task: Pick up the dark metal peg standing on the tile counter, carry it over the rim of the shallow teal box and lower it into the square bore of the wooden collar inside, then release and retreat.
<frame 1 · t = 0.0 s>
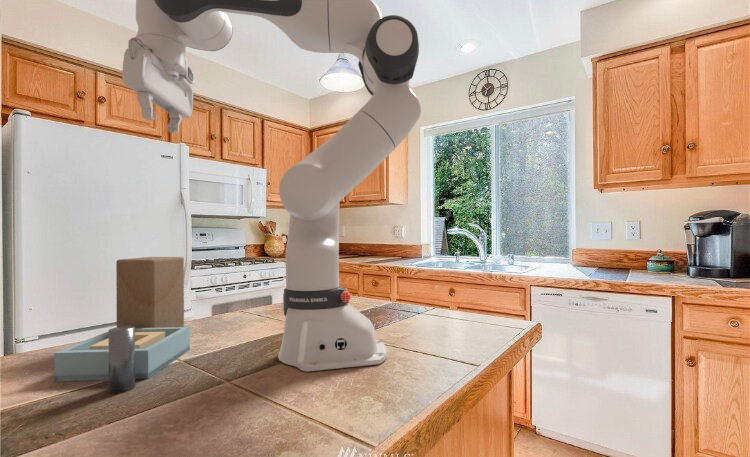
hand: (161, 126, 74), 48 cm above the counter, fingers open, 8 cm apart
peg: (122, 388, 60), on the counter
bin: (129, 363, 72), on the counter
wooden block: (151, 342, 86), on the counter
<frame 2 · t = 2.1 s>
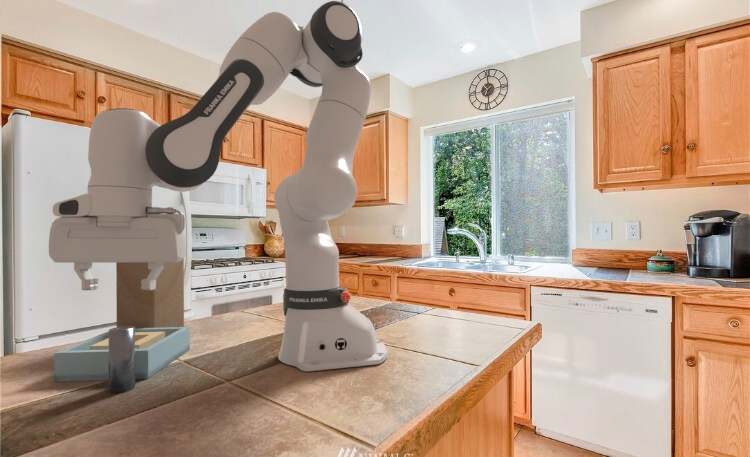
hand: (119, 289, 60), 16 cm above the counter, fingers open, 8 cm apart
nothing on the counter moved.
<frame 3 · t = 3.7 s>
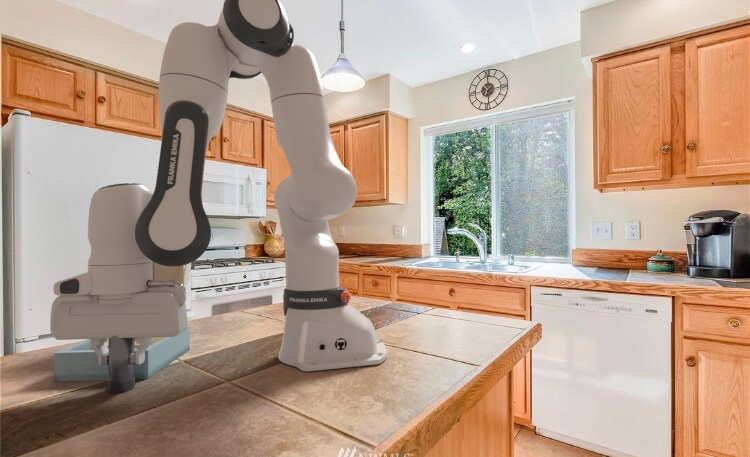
hand: (121, 363, 60), 4 cm above the counter, fingers closed on peg, 4 cm apart
peg: (122, 388, 60), on the counter, touching gripper
everything else where it was.
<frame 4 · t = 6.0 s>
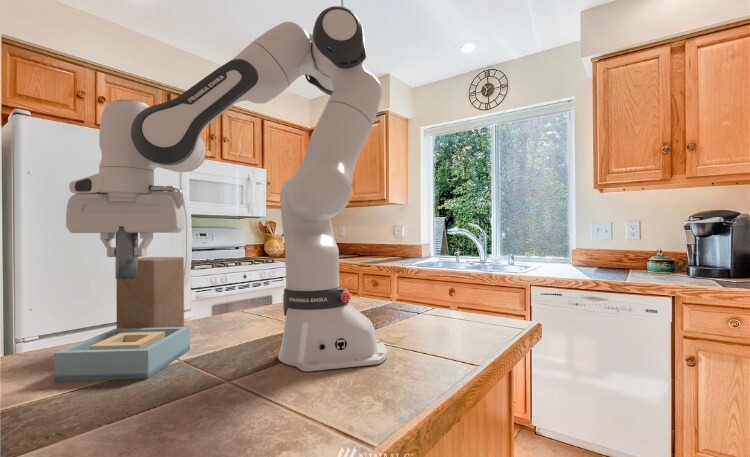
hand: (127, 256, 70), 21 cm above the counter, fingers closed on peg, 4 cm apart
peg: (126, 278, 70), point 17 cm above the counter, touching gripper
everything else where it was.
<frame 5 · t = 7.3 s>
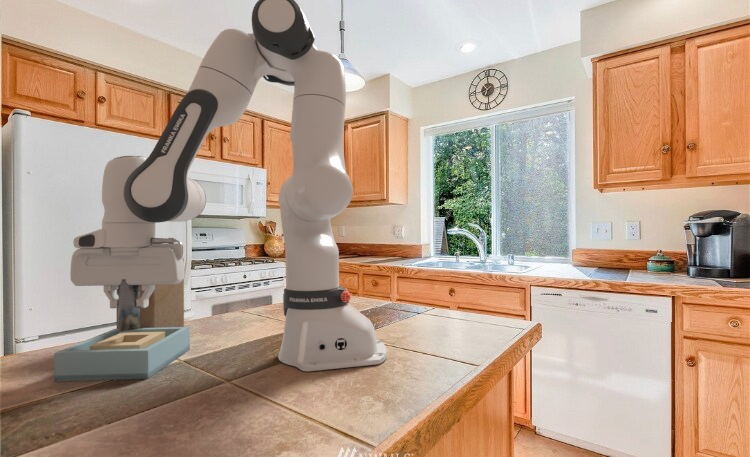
hand: (129, 307, 72), 11 cm above the counter, fingers closed on peg, 4 cm apart
peg: (129, 328, 72), point 7 cm above the counter, touching gripper
everything else where it was.
when the fingers open (7 cm above the counter, at t = 8.4 s): peg drops 2 cm, resting on bin.
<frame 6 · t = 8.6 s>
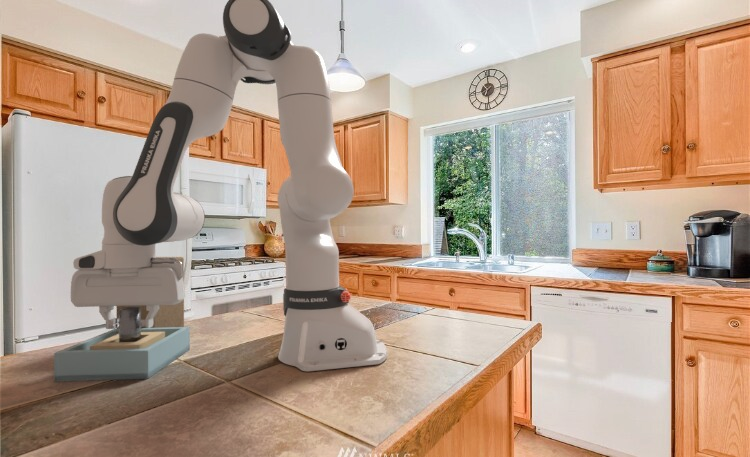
hand: (129, 327, 72), 7 cm above the counter, fingers open, 5 cm apart
peg: (129, 358, 72), point 1 cm above the counter, touching bin
everything else where it was.
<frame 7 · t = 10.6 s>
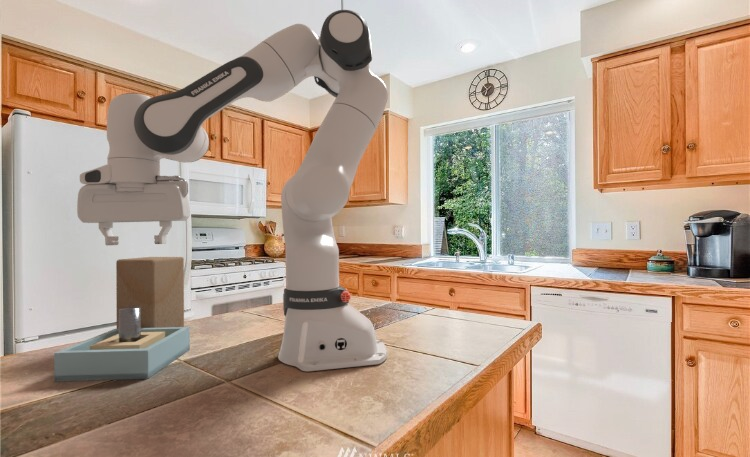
hand: (136, 244, 73), 24 cm above the counter, fingers open, 8 cm apart
nothing on the counter moved.
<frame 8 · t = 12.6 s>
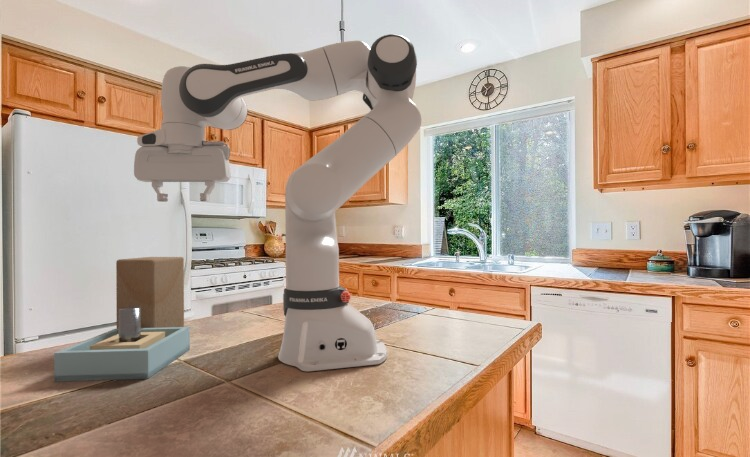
hand: (183, 201, 82), 33 cm above the counter, fingers open, 8 cm apart
nothing on the counter moved.
at the end: peg 0.1 cm off-centre on the bin, point 1.0 cm above the bin's base; peg tilted 1°; the gripper is holding nothing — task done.
